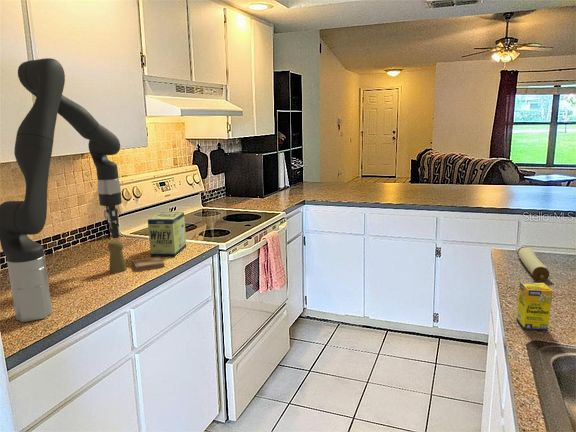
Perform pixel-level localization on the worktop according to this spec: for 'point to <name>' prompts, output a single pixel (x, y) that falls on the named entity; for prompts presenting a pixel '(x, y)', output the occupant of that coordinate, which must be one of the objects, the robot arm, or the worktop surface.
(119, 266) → the cork
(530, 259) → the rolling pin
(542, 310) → the supplement box
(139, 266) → the brown square tray
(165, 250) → the protein box
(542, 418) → the worktop surface
